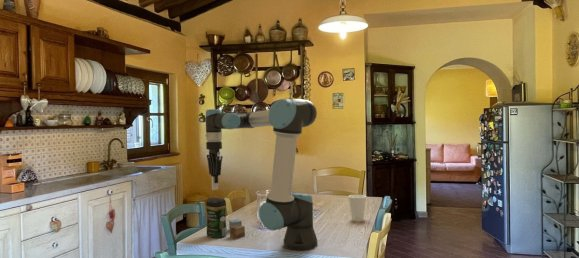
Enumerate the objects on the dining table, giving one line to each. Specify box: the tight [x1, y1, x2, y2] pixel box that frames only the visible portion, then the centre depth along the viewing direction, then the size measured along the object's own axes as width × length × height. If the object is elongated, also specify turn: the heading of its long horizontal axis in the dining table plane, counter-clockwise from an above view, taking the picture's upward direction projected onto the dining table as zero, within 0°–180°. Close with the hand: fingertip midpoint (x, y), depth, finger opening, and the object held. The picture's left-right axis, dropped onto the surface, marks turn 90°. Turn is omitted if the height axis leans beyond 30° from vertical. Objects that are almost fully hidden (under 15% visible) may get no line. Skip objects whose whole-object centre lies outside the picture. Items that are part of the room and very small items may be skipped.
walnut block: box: [229, 225, 246, 240], centre depth 192 cm, size 5×5×5 cm
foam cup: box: [348, 194, 367, 222], centre depth 218 cm, size 10×9×13 cm
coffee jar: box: [205, 197, 228, 239], centre depth 194 cm, size 10×8×19 cm
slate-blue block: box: [228, 218, 243, 231], centre depth 204 cm, size 5×5×5 cm
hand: (215, 189), depth 194 cm, fingers closed
